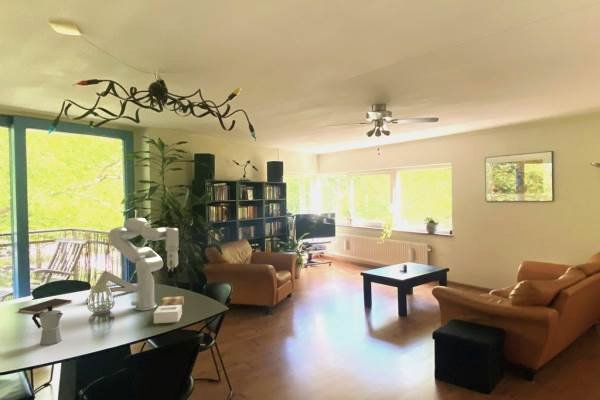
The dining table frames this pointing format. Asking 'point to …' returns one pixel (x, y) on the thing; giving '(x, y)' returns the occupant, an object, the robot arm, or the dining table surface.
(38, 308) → the hardcover book
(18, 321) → the dining table surface
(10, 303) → the dining table surface
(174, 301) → the tan brown rectangular block
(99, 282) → the wall bracket
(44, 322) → the coffee maker
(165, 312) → the white recessed tray
